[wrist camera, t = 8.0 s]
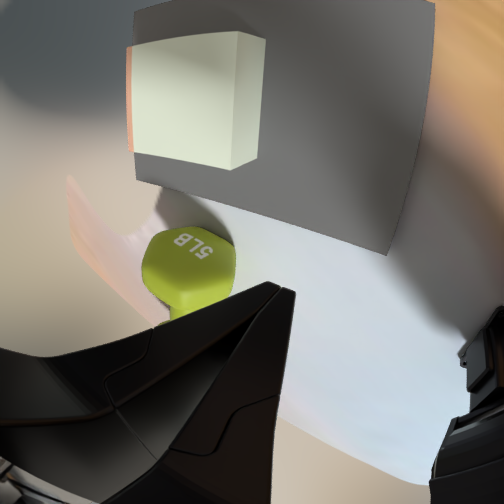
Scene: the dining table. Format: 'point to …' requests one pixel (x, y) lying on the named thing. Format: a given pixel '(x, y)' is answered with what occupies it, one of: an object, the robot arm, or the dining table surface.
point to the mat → (315, 110)
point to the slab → (196, 98)
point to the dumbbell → (188, 269)
